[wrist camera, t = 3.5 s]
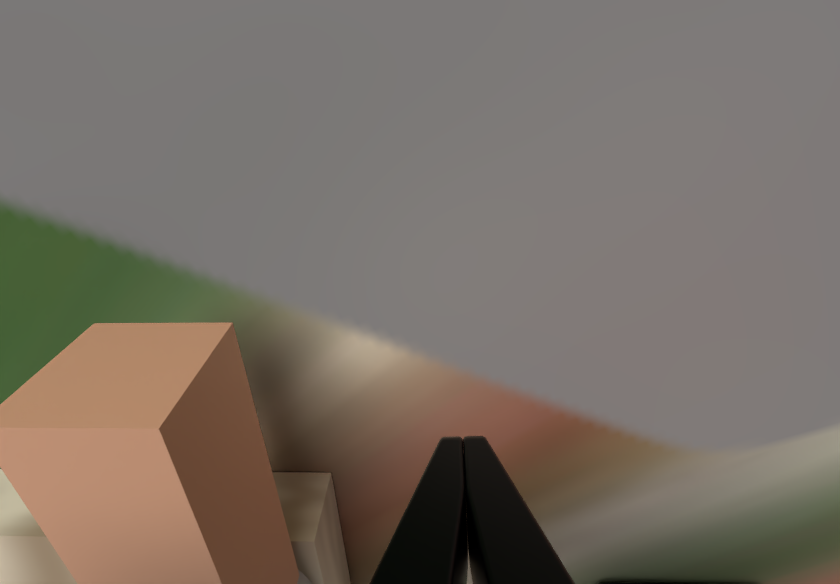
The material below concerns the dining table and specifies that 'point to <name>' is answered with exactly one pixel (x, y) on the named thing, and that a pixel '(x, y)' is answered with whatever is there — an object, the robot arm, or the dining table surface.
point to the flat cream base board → (301, 504)
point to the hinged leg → (149, 459)
